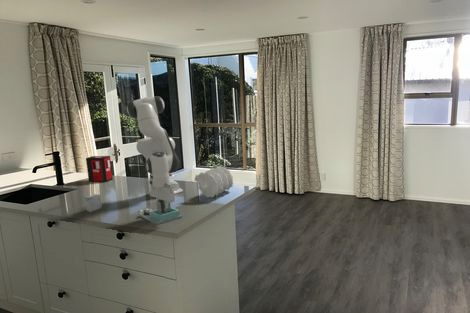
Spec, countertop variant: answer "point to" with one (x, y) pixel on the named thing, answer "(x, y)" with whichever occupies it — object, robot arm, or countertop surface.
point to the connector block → (162, 206)
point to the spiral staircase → (214, 181)
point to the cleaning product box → (99, 168)
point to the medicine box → (93, 202)
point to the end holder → (166, 216)
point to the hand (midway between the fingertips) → (163, 207)
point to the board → (155, 219)
